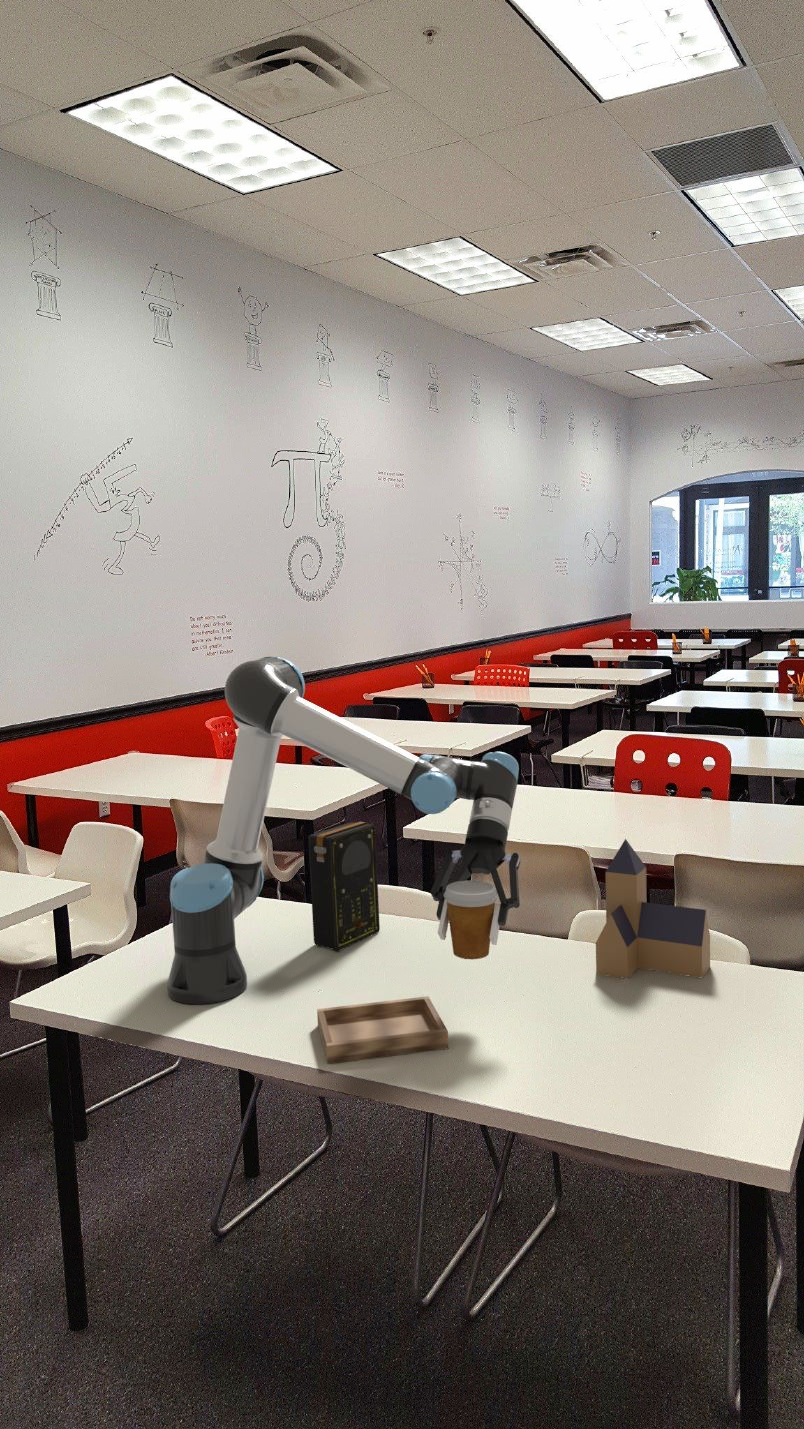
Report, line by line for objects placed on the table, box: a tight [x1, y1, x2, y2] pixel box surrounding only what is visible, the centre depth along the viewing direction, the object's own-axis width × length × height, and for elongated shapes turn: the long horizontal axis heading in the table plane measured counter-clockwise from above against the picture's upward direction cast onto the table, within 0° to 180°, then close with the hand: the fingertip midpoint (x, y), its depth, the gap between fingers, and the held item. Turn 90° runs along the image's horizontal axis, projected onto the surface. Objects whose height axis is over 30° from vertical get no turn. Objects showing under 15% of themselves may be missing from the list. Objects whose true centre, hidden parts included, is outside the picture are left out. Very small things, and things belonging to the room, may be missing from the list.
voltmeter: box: [308, 821, 381, 953], centre depth 218 cm, size 16×9×25 cm, turn 143°
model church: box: [595, 838, 711, 980], centre depth 194 cm, size 12×19×25 cm
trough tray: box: [316, 995, 450, 1065], centre depth 170 cm, size 20×15×3 cm
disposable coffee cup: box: [444, 880, 499, 960], centre depth 177 cm, size 10×10×12 cm
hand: (466, 938), depth 174 cm, fingers closed on disposable coffee cup, 9 cm apart
